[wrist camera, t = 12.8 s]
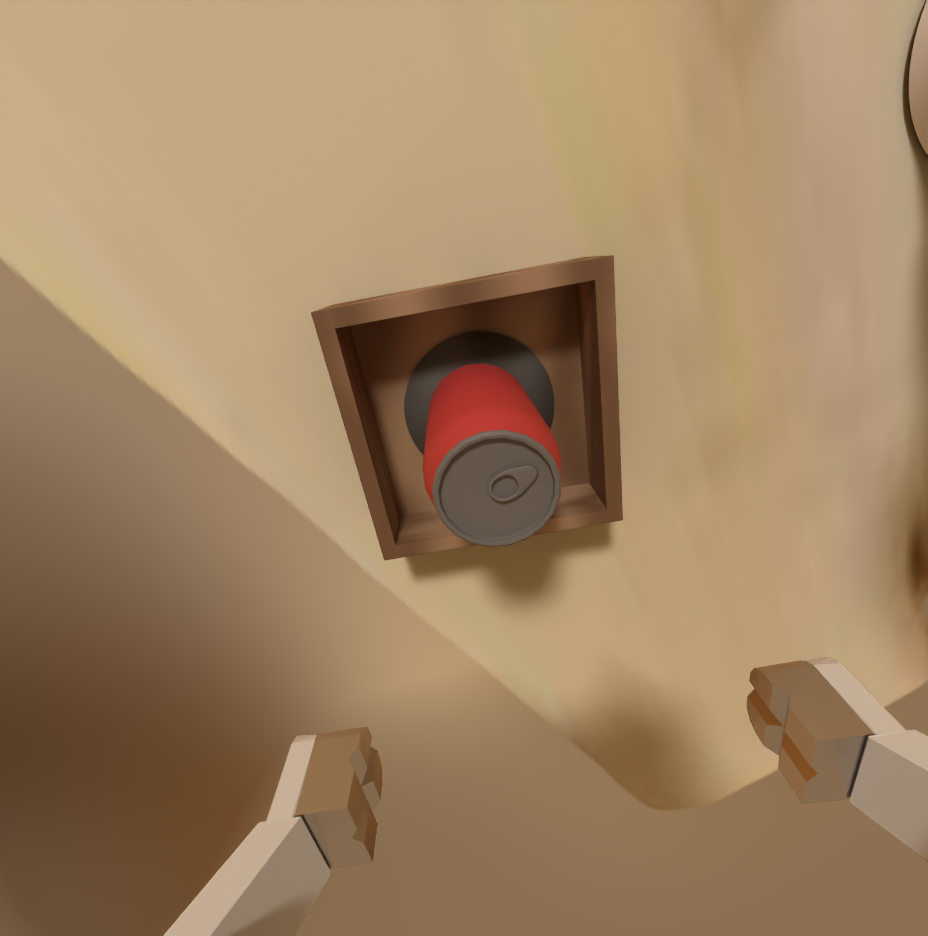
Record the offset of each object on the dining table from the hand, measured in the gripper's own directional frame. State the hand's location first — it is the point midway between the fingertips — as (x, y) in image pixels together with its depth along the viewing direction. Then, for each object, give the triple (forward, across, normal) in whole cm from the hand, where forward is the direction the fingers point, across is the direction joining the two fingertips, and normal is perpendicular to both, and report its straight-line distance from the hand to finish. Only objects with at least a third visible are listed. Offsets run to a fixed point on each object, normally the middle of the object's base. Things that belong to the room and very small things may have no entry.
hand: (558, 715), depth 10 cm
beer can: (+23, 0, 0) cm, 23 cm away
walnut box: (+24, 0, 0) cm, 24 cm away
